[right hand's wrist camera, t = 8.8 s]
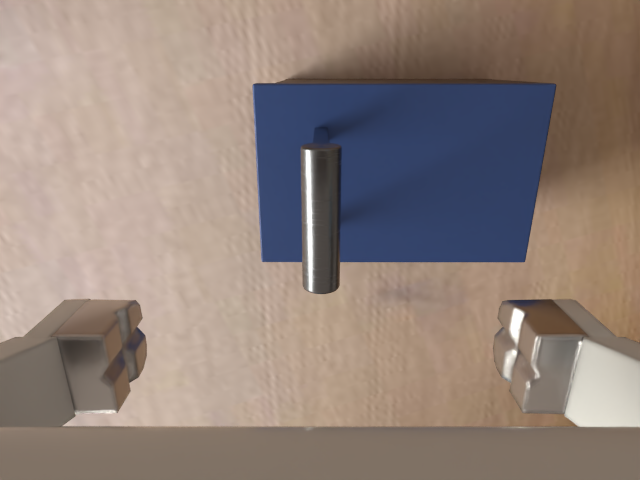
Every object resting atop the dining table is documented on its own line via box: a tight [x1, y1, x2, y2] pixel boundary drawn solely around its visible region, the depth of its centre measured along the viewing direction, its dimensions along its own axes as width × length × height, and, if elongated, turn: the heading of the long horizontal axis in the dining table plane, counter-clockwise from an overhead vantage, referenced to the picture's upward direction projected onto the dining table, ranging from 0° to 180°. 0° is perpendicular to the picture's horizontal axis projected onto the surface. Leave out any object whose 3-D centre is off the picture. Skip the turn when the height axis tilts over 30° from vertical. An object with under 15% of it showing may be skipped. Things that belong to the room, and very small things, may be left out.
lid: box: [253, 83, 556, 294], centre depth 21 cm, size 15×10×8 cm, turn 90°
